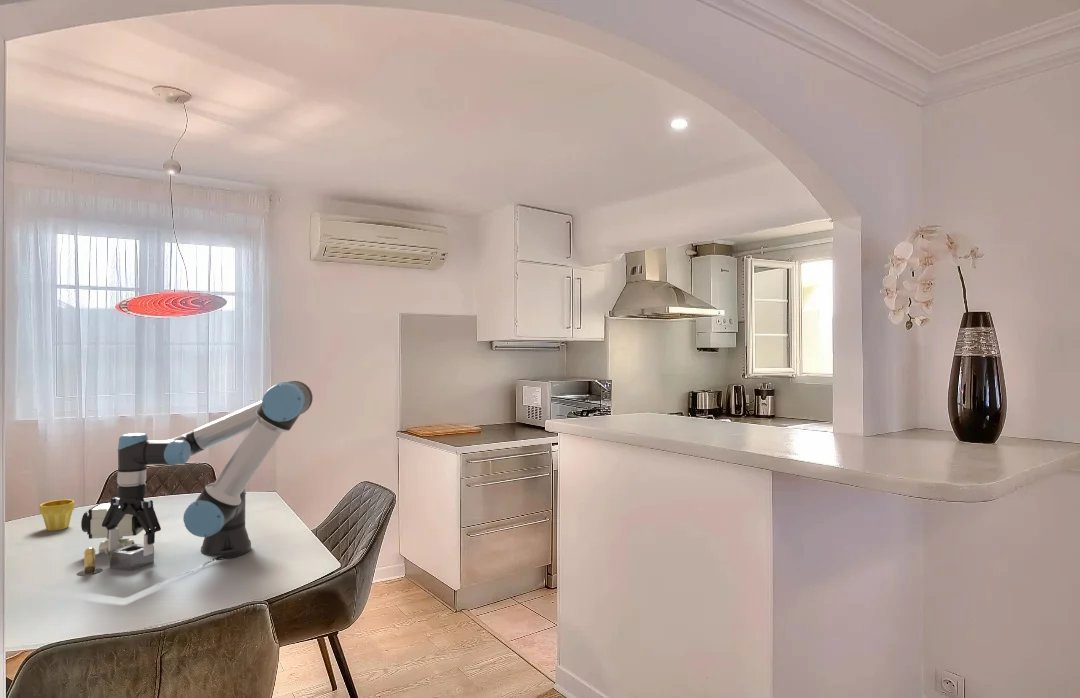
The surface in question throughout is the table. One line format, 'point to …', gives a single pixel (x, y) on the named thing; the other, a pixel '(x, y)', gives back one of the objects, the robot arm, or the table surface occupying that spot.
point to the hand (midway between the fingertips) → (130, 552)
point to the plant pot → (57, 514)
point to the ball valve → (95, 530)
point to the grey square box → (130, 557)
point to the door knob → (89, 563)
